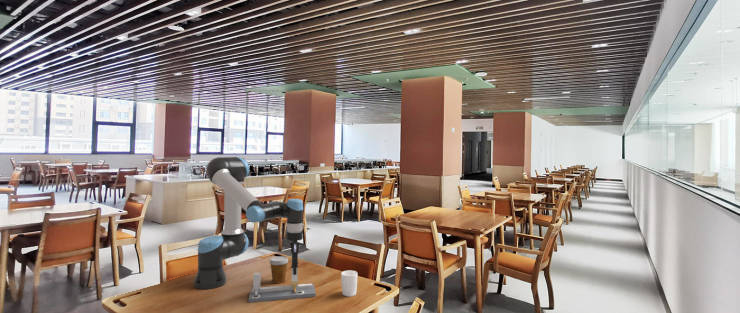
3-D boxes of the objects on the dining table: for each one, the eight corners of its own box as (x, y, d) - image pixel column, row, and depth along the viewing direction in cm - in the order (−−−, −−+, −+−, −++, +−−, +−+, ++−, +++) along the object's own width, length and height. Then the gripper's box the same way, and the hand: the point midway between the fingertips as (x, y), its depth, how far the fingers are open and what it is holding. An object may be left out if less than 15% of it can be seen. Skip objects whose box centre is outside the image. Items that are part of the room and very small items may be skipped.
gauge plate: (248, 302, 161) (248, 280, 161) (250, 292, 173) (250, 271, 173) (315, 296, 168) (315, 275, 168) (313, 287, 180) (313, 267, 180)
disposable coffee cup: (290, 278, 192) (290, 256, 192) (284, 285, 182) (284, 261, 182) (273, 277, 193) (273, 255, 193) (266, 284, 183) (266, 260, 183)
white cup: (344, 298, 167) (345, 276, 167) (338, 292, 174) (338, 271, 174) (360, 295, 170) (360, 274, 170) (353, 289, 177) (353, 269, 177)
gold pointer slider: (291, 292, 168) (291, 264, 168) (291, 286, 175) (291, 259, 175) (298, 291, 168) (298, 263, 168) (297, 286, 176) (297, 259, 175)
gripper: (303, 234, 167) (303, 284, 167) (301, 227, 182) (301, 273, 183) (287, 235, 165) (286, 286, 165) (286, 228, 180) (286, 274, 181)
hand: (294, 279), depth 174 cm, fingers closed on gold pointer slider, 3 cm apart
